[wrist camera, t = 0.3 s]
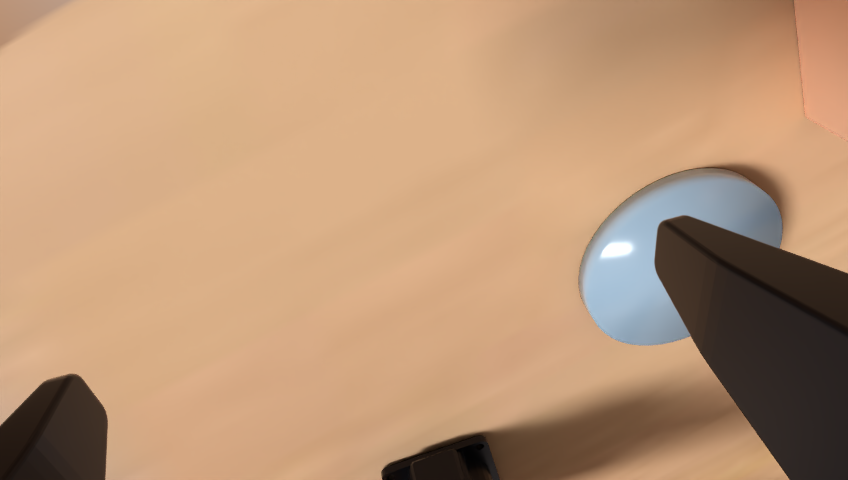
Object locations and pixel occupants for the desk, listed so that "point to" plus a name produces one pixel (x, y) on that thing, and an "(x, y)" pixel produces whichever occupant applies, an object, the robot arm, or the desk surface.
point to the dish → (636, 241)
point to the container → (824, 62)
